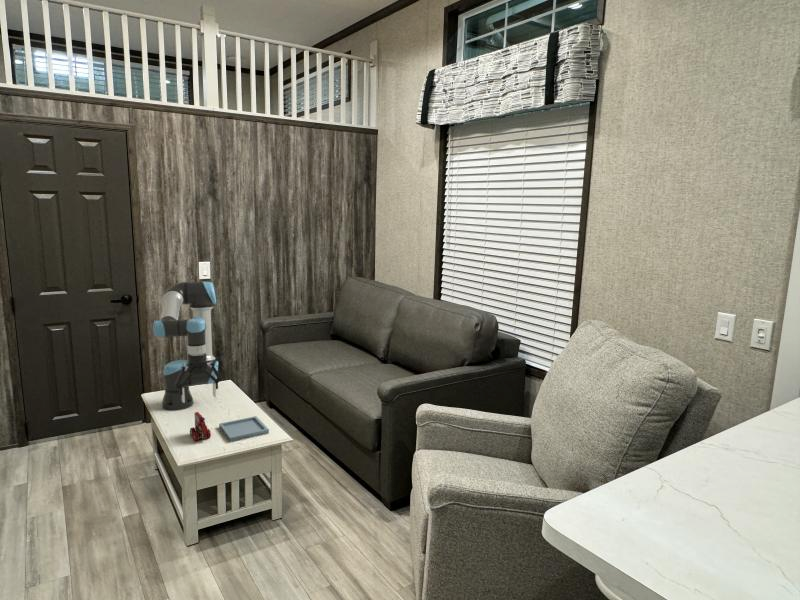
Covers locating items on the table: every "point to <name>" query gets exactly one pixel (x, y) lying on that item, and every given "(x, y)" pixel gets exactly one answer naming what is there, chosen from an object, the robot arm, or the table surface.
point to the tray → (243, 428)
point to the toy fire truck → (200, 428)
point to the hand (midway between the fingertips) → (199, 398)
